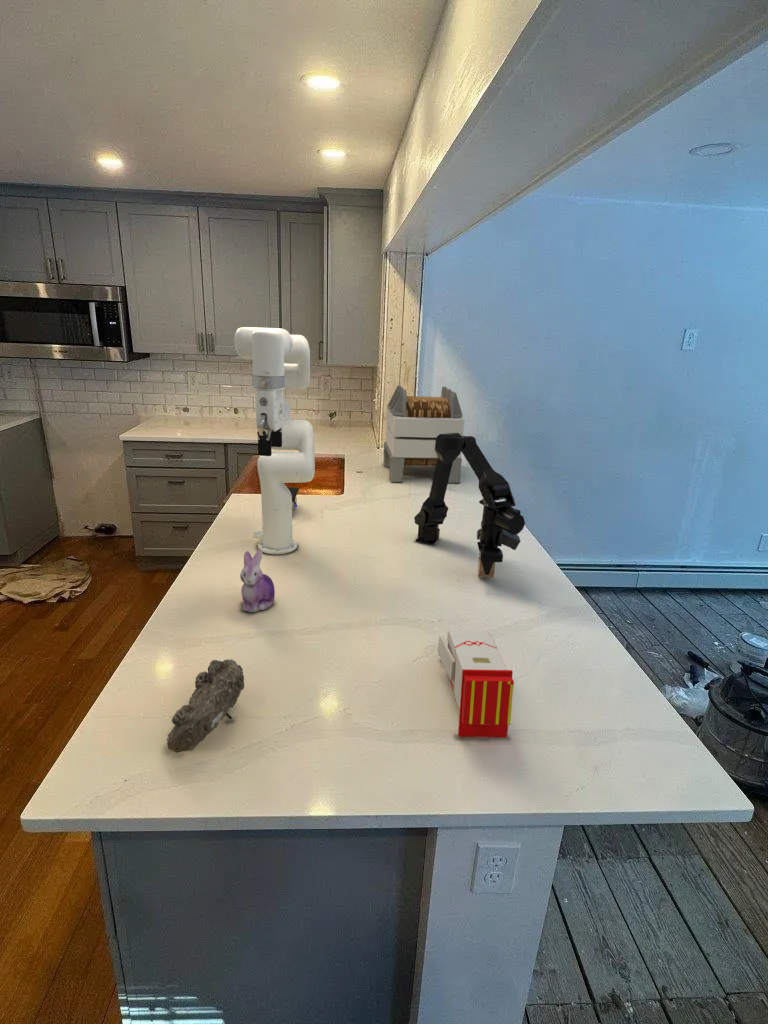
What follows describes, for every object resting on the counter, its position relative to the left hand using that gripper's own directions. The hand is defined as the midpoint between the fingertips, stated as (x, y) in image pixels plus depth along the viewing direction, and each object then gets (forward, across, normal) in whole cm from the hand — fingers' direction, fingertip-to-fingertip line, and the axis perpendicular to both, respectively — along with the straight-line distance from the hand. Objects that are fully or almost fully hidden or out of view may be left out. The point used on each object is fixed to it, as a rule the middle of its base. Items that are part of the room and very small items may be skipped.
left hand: (270, 451), depth 145 cm
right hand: (+37, +17, -60) cm, 72 cm away
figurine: (+39, -10, +2) cm, 40 cm away
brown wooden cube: (+38, +17, -60) cm, 73 cm away
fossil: (+39, -53, -3) cm, 66 cm away
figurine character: (+39, +62, +12) cm, 75 cm away
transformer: (+39, +128, -36) cm, 138 cm away
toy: (+39, -38, -52) cm, 76 cm away
